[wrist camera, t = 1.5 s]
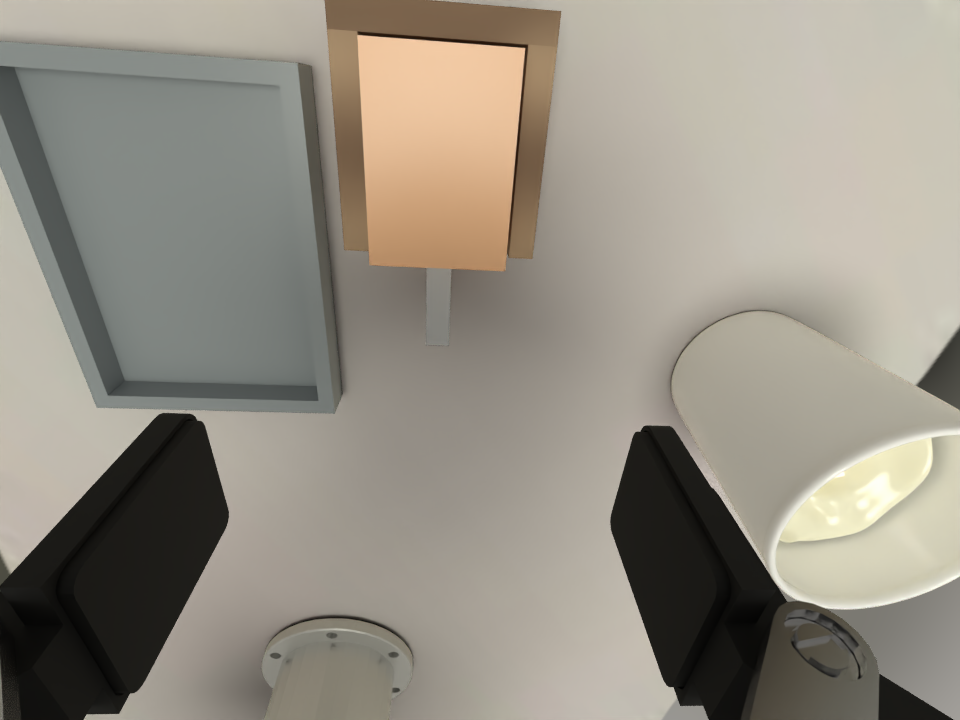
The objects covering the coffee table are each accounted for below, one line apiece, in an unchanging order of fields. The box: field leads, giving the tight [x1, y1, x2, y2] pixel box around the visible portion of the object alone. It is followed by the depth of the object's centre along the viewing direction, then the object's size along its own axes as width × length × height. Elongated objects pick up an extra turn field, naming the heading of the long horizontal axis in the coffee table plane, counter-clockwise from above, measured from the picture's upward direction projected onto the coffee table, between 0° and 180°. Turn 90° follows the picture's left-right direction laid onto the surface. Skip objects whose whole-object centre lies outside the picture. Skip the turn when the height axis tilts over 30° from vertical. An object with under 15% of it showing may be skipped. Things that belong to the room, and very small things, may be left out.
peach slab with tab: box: [357, 35, 525, 346], centre depth 20 cm, size 11×5×7 cm, turn 176°
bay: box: [325, 0, 561, 259], centre depth 20 cm, size 8×8×4 cm
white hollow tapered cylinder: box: [671, 311, 960, 609], centre depth 23 cm, size 10×10×12 cm
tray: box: [0, 41, 342, 414], centre depth 23 cm, size 17×13×2 cm
